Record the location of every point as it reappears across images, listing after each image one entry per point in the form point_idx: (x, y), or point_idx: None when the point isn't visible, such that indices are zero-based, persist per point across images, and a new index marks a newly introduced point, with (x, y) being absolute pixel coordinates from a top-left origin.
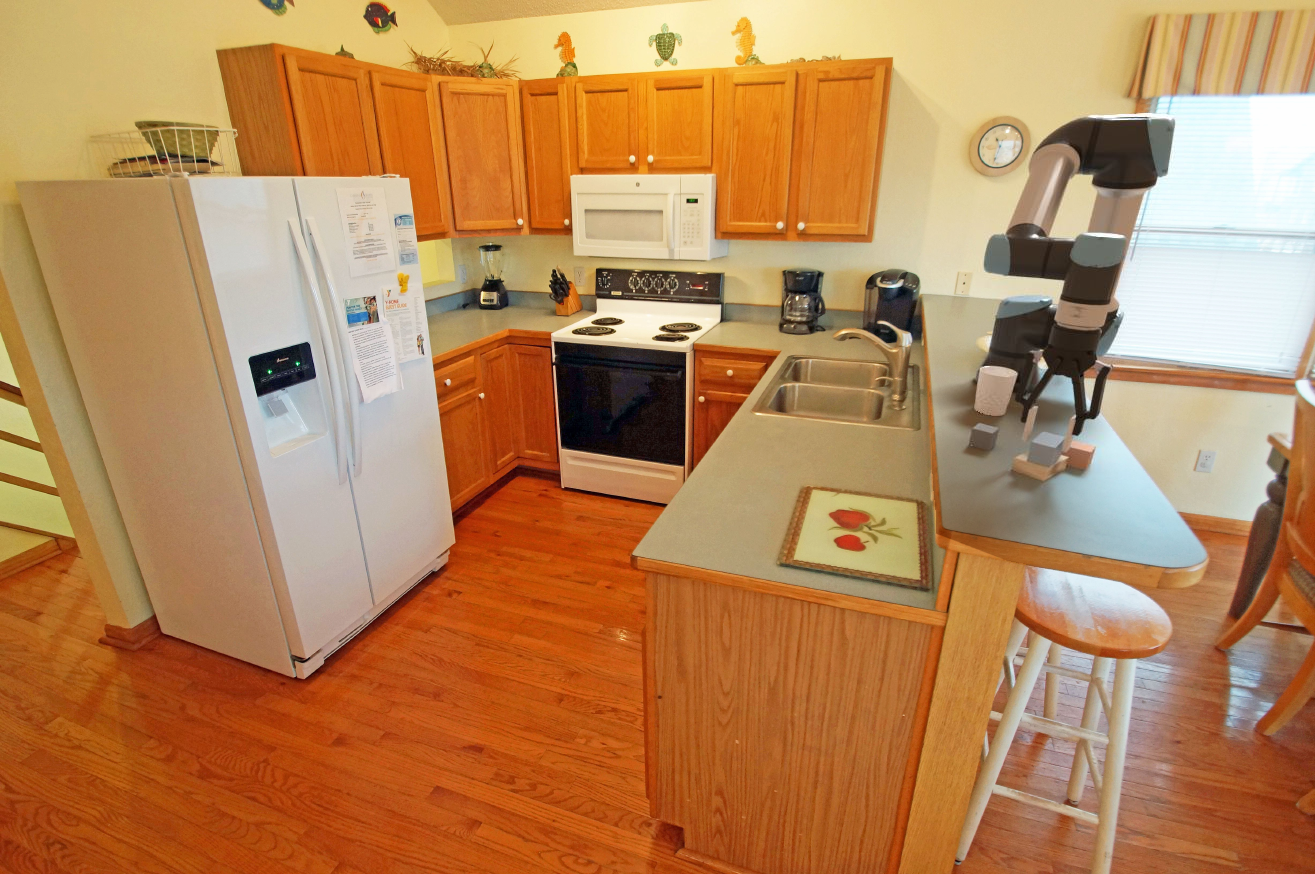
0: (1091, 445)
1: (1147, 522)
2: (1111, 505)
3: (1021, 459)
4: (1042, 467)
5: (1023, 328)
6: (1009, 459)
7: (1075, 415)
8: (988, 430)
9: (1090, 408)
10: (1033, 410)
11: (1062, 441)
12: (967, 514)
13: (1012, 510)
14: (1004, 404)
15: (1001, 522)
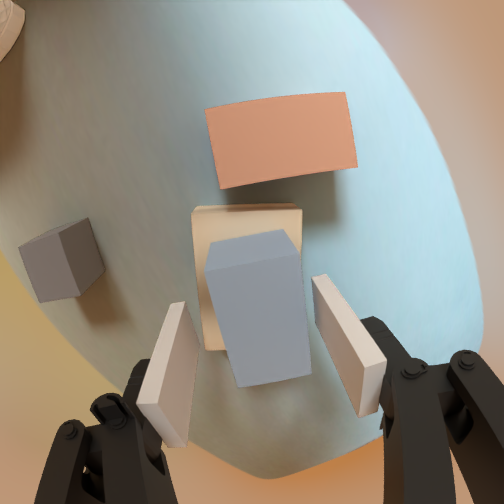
0: (332, 96)
1: (454, 312)
2: (415, 307)
3: (222, 345)
4: None
5: None
6: (165, 276)
7: (370, 369)
8: (61, 282)
9: (450, 442)
10: (186, 446)
11: (303, 296)
12: (263, 466)
13: (298, 434)
14: (4, 22)
15: (301, 455)
